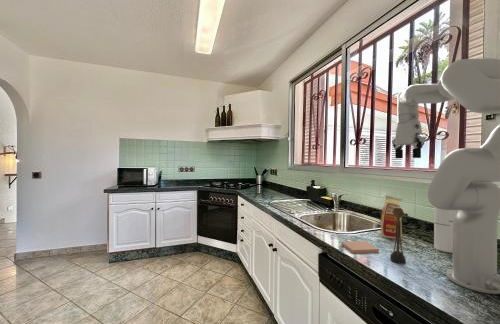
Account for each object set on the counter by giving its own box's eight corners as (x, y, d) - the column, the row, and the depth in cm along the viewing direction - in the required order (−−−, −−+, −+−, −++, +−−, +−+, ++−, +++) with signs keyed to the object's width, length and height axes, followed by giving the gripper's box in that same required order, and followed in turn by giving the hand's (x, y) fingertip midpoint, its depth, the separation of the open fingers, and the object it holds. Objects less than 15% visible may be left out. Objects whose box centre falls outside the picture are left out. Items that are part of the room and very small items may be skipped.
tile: (378, 249, 90) (352, 250, 89) (378, 253, 90) (352, 254, 89) (365, 241, 99) (341, 241, 98) (365, 245, 99) (341, 245, 98)
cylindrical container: (461, 253, 89) (461, 191, 89) (440, 251, 90) (441, 190, 90) (449, 246, 96) (449, 188, 96) (430, 245, 97) (430, 188, 97)
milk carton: (382, 237, 108) (382, 196, 108) (380, 231, 116) (380, 193, 116) (404, 239, 104) (404, 197, 104) (400, 233, 112) (401, 194, 112)
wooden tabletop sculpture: (411, 264, 79) (411, 208, 79) (400, 265, 79) (401, 209, 78) (397, 257, 85) (397, 205, 85) (387, 258, 84) (387, 206, 84)
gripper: (433, 115, 89) (433, 157, 89) (400, 122, 106) (400, 158, 107) (416, 115, 88) (416, 157, 89) (385, 122, 106) (385, 158, 106)
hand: (407, 158), depth 98 cm, fingers open, 9 cm apart
